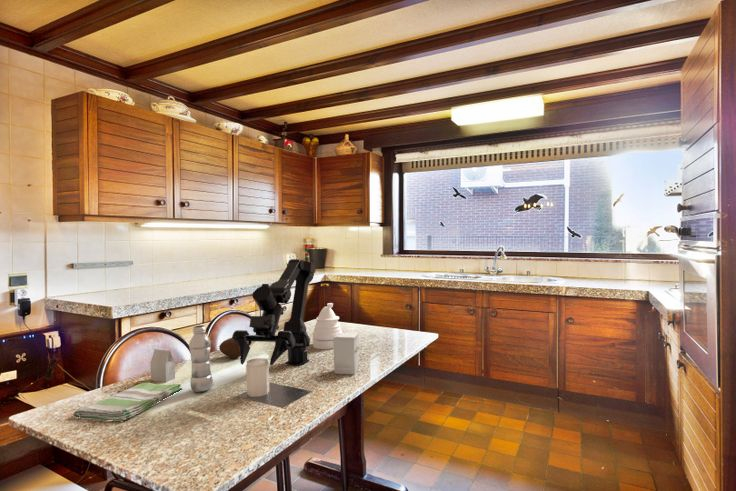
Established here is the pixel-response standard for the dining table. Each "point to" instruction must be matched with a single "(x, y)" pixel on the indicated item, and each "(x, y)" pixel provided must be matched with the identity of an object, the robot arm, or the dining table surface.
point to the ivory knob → (257, 377)
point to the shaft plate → (278, 395)
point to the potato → (230, 348)
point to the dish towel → (127, 402)
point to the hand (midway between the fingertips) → (256, 364)
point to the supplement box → (346, 353)
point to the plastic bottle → (200, 360)
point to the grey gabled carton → (162, 366)
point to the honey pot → (326, 328)
